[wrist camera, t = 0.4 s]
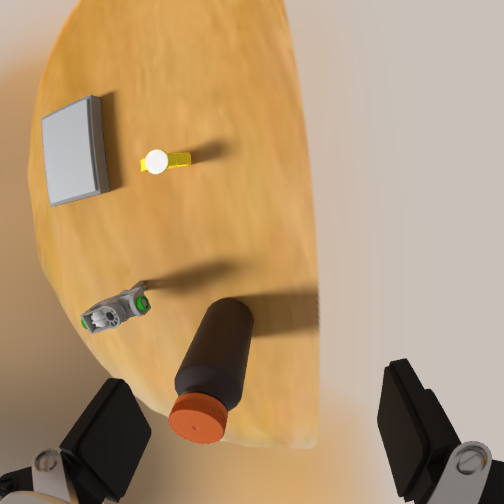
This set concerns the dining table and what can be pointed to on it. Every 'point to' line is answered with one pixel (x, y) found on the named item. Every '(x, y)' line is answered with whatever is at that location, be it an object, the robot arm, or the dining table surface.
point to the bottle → (212, 373)
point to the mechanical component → (116, 309)
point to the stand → (75, 152)
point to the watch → (164, 161)
